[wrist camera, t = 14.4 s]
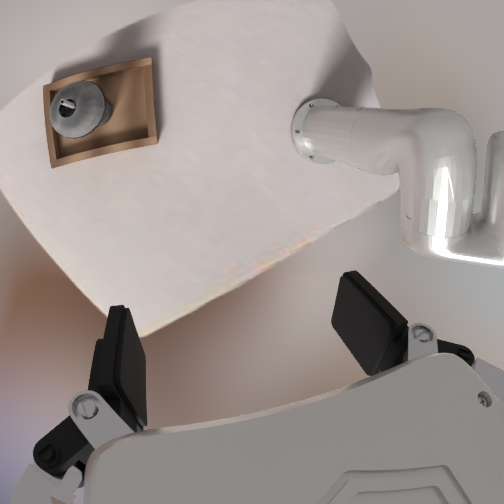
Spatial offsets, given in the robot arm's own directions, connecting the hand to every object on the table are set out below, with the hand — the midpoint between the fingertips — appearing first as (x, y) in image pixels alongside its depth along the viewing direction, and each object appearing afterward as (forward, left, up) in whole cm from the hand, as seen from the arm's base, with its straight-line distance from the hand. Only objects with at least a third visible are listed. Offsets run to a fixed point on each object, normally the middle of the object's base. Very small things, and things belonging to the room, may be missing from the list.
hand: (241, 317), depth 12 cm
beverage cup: (+13, -12, -37) cm, 40 cm away
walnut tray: (+13, -12, -38) cm, 41 cm away
